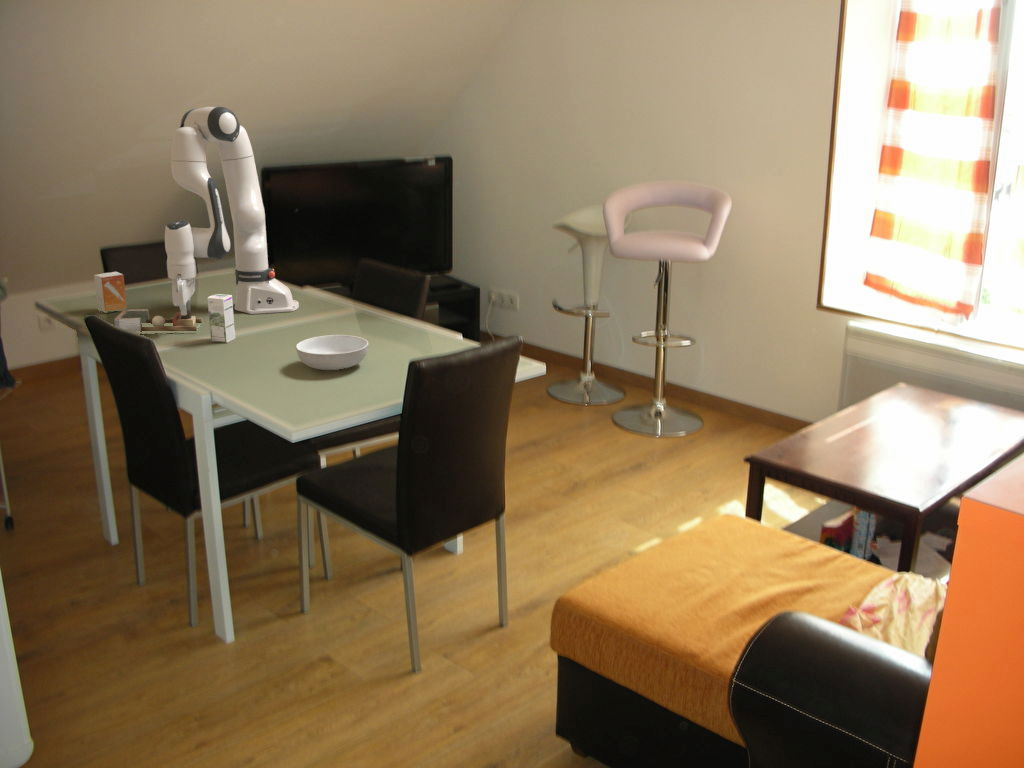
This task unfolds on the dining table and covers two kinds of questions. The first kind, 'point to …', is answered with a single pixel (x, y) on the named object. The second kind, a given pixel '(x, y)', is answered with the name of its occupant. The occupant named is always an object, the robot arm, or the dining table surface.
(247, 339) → the dining table surface
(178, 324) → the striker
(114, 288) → the small box
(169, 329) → the rails
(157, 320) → the ball
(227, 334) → the syrup box
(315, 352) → the serving bowl
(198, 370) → the dining table surface
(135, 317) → the grey-white box
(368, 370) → the dining table surface
